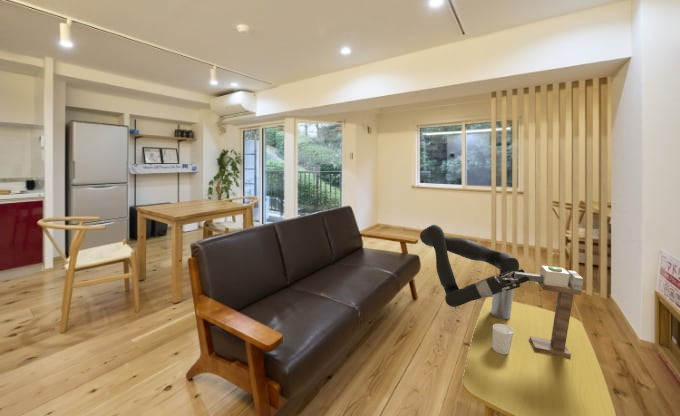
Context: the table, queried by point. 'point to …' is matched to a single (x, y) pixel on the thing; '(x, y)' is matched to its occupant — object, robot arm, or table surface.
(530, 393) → the table surface
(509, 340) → the white cup
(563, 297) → the wooden pedestal stand
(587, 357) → the table surface
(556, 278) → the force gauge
